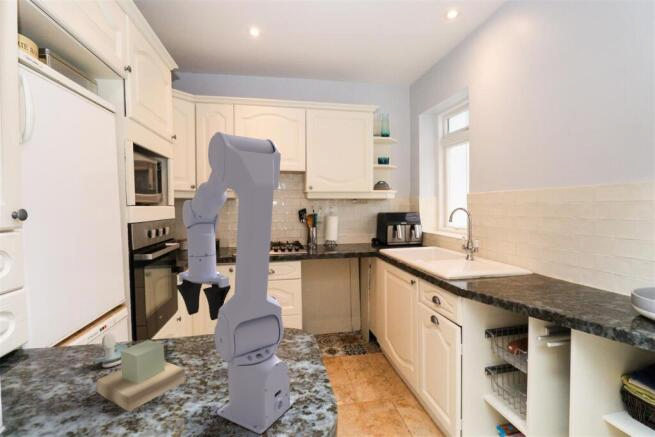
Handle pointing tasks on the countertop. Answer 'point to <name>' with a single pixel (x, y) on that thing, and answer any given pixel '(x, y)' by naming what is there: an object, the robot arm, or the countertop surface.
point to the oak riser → (139, 387)
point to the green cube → (142, 361)
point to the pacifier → (111, 351)
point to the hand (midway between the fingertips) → (204, 316)
